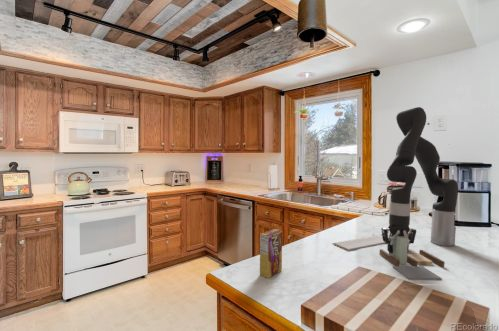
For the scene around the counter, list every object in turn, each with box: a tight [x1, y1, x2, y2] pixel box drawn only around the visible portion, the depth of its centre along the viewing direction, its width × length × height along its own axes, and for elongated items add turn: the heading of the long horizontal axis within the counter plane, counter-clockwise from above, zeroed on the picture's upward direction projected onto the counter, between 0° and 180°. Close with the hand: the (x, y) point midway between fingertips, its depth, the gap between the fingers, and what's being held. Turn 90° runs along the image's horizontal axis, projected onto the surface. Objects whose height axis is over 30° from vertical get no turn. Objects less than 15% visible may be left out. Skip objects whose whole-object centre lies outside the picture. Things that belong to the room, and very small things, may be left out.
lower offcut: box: [417, 263, 434, 266], centre depth 112 cm, size 7×9×1 cm
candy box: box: [259, 228, 283, 279], centre depth 97 cm, size 9×4×15 cm, turn 140°
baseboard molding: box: [331, 235, 387, 252], centre depth 134 cm, size 31×3×12 cm
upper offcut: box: [407, 253, 433, 264], centre depth 112 cm, size 6×8×1 cm
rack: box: [379, 248, 445, 268], centre depth 112 cm, size 19×13×2 cm
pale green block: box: [388, 236, 408, 265], centre depth 111 cm, size 3×8×11 cm, turn 2°
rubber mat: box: [392, 265, 443, 281], centre depth 99 cm, size 12×10×1 cm
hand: (397, 252), depth 111 cm, fingers open, 5 cm apart
